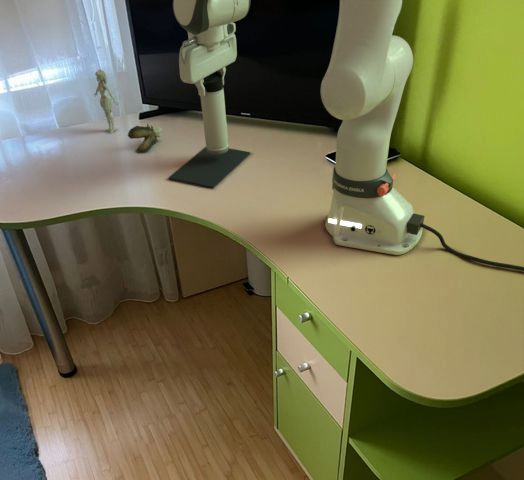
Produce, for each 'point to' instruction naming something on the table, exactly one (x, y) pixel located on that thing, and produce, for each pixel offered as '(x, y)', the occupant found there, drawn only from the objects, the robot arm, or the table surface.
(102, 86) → the human figurine
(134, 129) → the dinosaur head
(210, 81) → the travel mug
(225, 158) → the desk pad
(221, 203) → the table surface
